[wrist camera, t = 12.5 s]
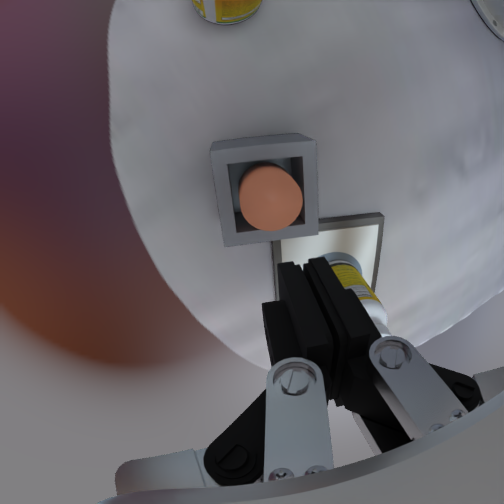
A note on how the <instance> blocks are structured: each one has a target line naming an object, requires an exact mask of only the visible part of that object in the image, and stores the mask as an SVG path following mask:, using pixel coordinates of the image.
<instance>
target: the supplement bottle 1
mask: <svg viewBox="0 0 504 504" xmlns="http://www.w3.org/2000/svg"><path fill="white" fill-rule="evenodd" d="M192 2H193V5H194V7H195V10H196V11H197V13H198V14H199V15H200V16H201V17H203V18H204V19H206V20H208V21H210V22H212V23H216V24H223V25H226V24H234V23H238V22H242V21H244V20H246V19H248V18H250V17H251V16H252V15H253V14H254V13H255V12H256V11H257V10H258V8H259V6H260V4H261V2H262V0H192Z"/></svg>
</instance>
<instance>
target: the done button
mask: <svg viewBox="0 0 504 504" xmlns="http://www.w3.org/2000/svg"><path fill="white" fill-rule="evenodd" d="M238 194H239V200H240V207H241V211H242V214H243V216H244V218H245V219H246V220H247V221H248V223H249V224H251V225H252V226H254V227H255V228H257V229H260V230H264V231H276V230H280V229H283V228H285V227H287V226H289V225H290V224H291V223H292V222H293V221H294V220H295V219H296V218H297V217H298V215H299V213H300V211H301V208H302V203H303V197H302V192H301V190H300V187H299V186H298V184H297V183H296V182H295V180H294V179H293V178H292V177H291V176H290V175H289V174H288V172H287V171H286V170H285V169H284V168H282V167H281V166H279V165H277V164H274V163H269V162H263V163H258V164H255V165H253V166H251V167H250V168H249V169H247V170H246V171H245V172H244V174H243V175H242V177H241V179H240V181H239V185H238Z"/></svg>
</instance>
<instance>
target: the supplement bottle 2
mask: <svg viewBox="0 0 504 504" xmlns="http://www.w3.org/2000/svg"><path fill="white" fill-rule="evenodd" d="M329 264H330V266H331V268H332V269H333V271H334V272H335V274H336V276H337V277H338V279H339V280H340V282H341V284H342V285H343V287H344V289H348V288H351V289H353V291H354V292H355V293H356V295H357V297H358V298H359V300H360V301H361V303H362V305H363V306H364V308H365V309H366V311H367V313H368V314H369V316H370V317H371V319H372V321H373V322H374V324H375V326H376V327H377V329H378V331H379V332H380V334H381V336H382V337H385V336H392V335H391V333H390V332H389V330H388V328H387V327H386V325H387V313H386V310H385V309H384V307H383V305H382V304H381V302H380V301H379V299H378V298H377V297H376V295H375V294H374V292H373V291H372V289H371V288H370V287H369V285H368V284H367V282H366V281H365V280H364V278H363V277H362V275H361V274H360V273H359V271H358V270H357V269H356V268H355V266H354V265H352V264H351V263H349V262H346V261H341V260H337V261H332V262H329Z"/></svg>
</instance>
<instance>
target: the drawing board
mask: <svg viewBox="0 0 504 504" xmlns="http://www.w3.org/2000/svg"><path fill="white" fill-rule="evenodd" d="M383 226H384V216H383V215H382V214H381V213H370V214H361V215H351V216H342V217H333V218H324V219H318V235H314V236H306V237H298V238H290V239H283V240H275V241H272V253H273V266H274V280H275V294H276V301H279V287H278V272H277V264H278V263H283V262H290V261H293V262H294V264H295V265H297V264H300V266H301V268H302V270H303V264H304V263H308V259H310V258H317V257H325V258H326V260H327V261H328V263H329V262H332V261H337V260H341V261H346V262H349V263H351V264H352V265H354V266H355V268H356V269H357V270H358V271H359V273H360V274H361V275H362V277H363V278H364V280H365V281H366V282H367V284H368V285H369V287H370V288H371V289H372V291H373V292H375V286H376V280H377V274H378V267H379V260H380V252H381V244H382V236H383Z"/></svg>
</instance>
